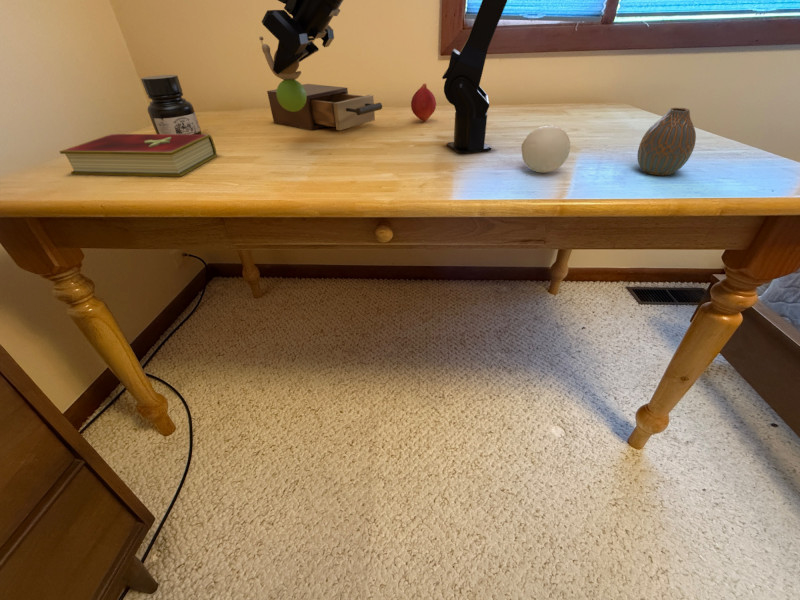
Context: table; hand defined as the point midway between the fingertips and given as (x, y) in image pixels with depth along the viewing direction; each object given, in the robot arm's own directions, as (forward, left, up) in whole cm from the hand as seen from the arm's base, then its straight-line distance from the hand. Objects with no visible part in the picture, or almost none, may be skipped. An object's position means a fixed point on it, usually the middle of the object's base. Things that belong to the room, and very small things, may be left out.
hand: (277, 71), depth 69 cm
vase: (-39, -53, -13) cm, 67 cm away
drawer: (+12, -13, -12) cm, 22 cm away
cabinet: (+22, -7, -13) cm, 26 cm away
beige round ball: (-32, -37, -13) cm, 50 cm away
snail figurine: (-1, -1, -7) cm, 7 cm away
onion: (+9, -32, -13) cm, 36 cm away
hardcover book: (-2, +26, -13) cm, 30 cm away
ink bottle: (+17, +23, -13) cm, 32 cm away
